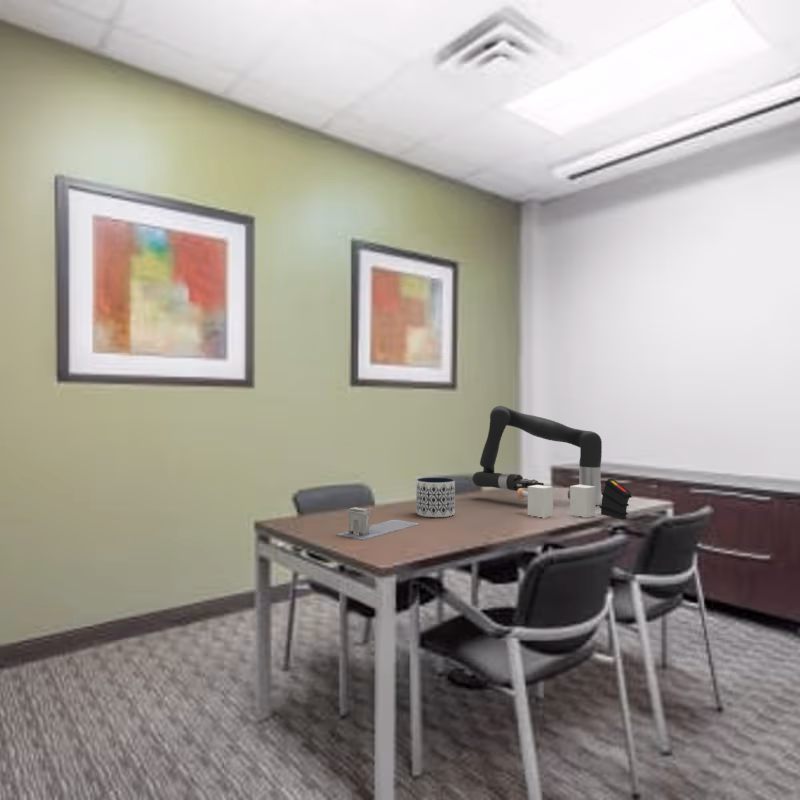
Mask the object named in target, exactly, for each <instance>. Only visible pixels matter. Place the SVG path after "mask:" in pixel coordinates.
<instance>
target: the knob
mask: <svg viewBox="0 0 800 800" xmlns="http://www.w3.org/2000/svg"><path fill="white" fill-rule="evenodd" d="M516 497H517V498H518V499H519V500H524V499H526V498H528V490H526V488H519V489H518V490H517V491H516Z"/></svg>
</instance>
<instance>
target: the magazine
mask: <svg viewBox="0 0 800 800" xmlns="http://www.w3.org/2000/svg"><path fill="white" fill-rule="evenodd" d="M604 484H605V485H604V488H603V491H601V504H600V505H599V509H600V514H601V515H603V516H608V517H612V518H617V519H626V518H627V515H628V514H629V512H628V511H627V510H628V509H627V508H628V507H629V503H628V502H629V500H630V499H631V498H632V492H631V491H630V490H628V489H627V488H625V487H624V486H623V485H622V484H620V483H619V482H617V481H616V480H615V479H614V478H607V480H605V482H604Z"/></svg>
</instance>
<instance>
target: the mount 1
mask: <svg viewBox="0 0 800 800" xmlns="http://www.w3.org/2000/svg"><path fill="white" fill-rule="evenodd" d="M527 492H528V497H527V516H528V515H532V516H531V517H533V516H538V517H537V518H539V517H547V518H549V517H548V516H551V517H554V486H550V485H544V486H543V485H533V486H528V488H527Z"/></svg>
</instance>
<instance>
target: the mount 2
mask: <svg viewBox="0 0 800 800" xmlns="http://www.w3.org/2000/svg"><path fill="white" fill-rule="evenodd" d="M569 490H570V499H569V516H572V515H575V516H574V517H578V516H582V517H581V518H584V517H588V518H591V517H590V516H592V517H595V516H596V506H595V486H587V485H579V484H574V485H570V486H569ZM594 515H595V516H594Z"/></svg>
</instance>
